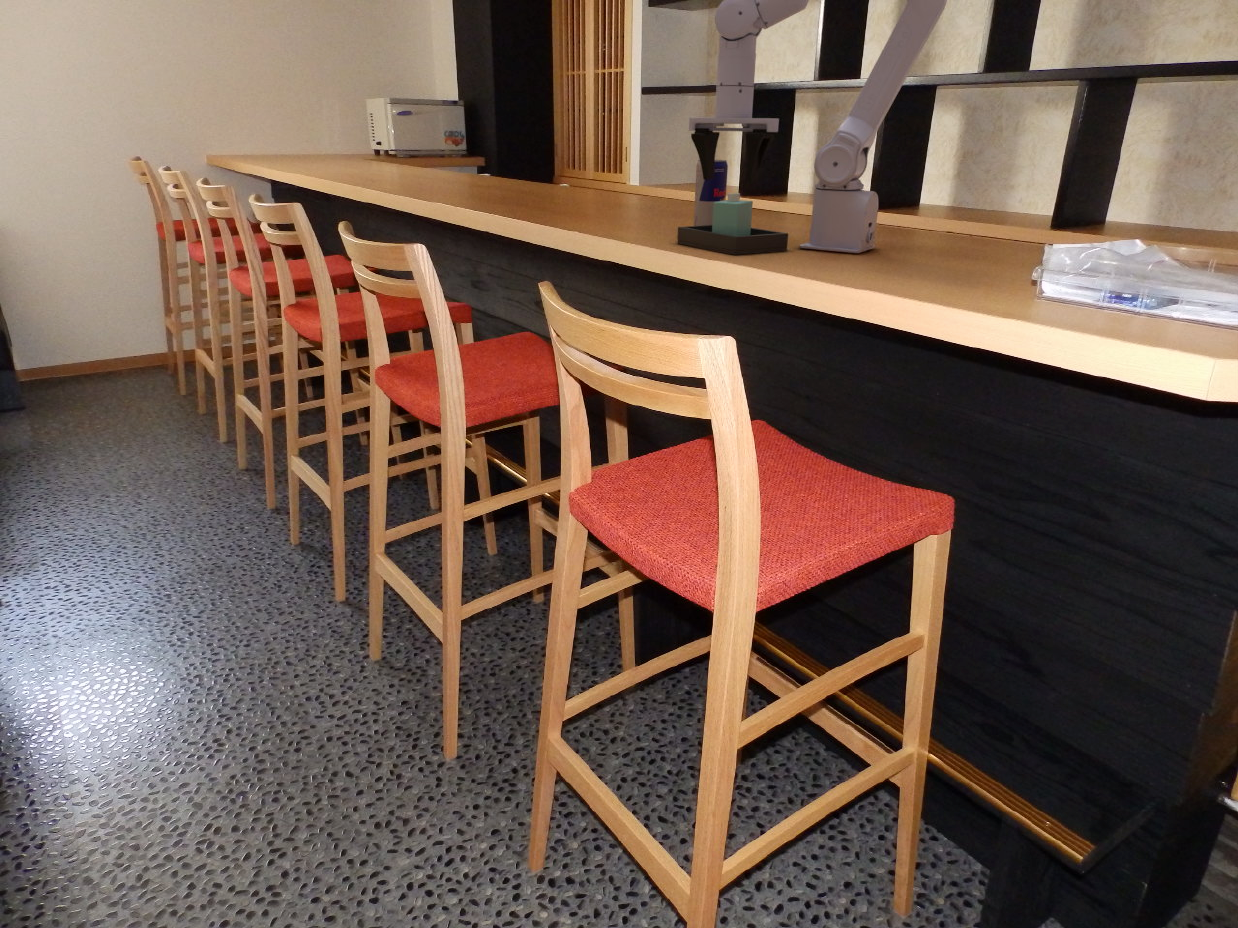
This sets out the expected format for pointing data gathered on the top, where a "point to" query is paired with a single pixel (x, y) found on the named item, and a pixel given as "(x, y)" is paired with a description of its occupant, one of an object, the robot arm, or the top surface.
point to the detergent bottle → (732, 216)
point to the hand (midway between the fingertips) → (729, 180)
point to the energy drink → (709, 192)
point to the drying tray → (733, 240)
